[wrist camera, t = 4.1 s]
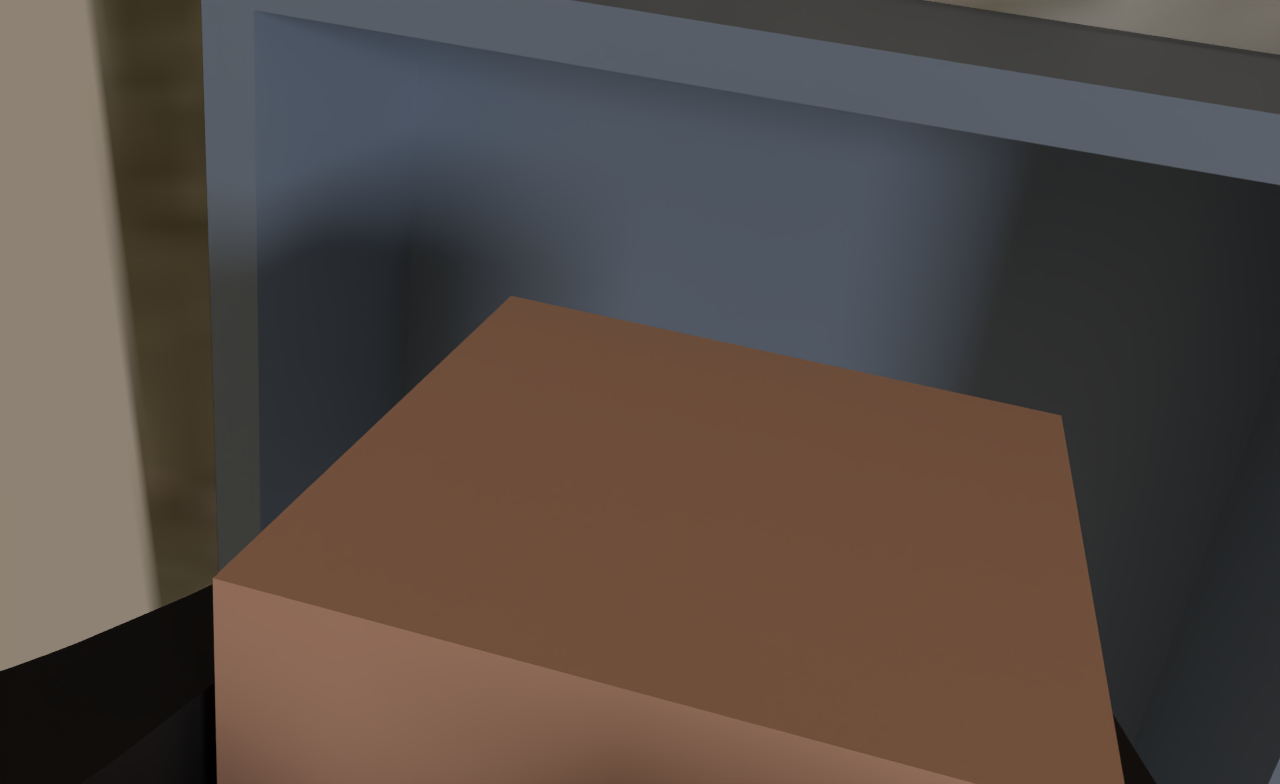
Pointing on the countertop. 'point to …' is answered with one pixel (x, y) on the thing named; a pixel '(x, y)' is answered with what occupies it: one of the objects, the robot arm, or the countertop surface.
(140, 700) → the robot arm
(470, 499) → the terracotta cube
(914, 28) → the slate tote
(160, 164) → the countertop surface
